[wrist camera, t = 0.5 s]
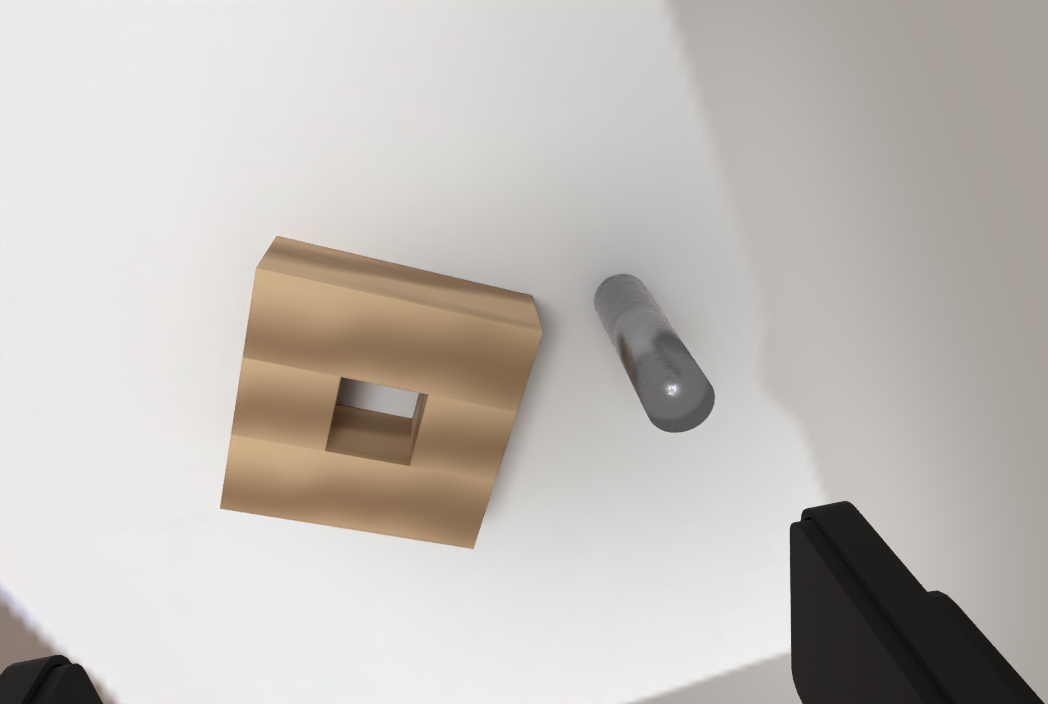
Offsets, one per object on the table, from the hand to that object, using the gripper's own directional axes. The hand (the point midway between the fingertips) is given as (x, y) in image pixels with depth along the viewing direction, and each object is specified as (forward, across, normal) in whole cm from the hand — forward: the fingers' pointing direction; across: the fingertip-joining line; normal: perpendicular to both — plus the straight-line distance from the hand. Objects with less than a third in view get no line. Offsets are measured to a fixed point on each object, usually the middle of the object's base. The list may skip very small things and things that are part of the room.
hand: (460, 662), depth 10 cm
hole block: (+33, +6, +11) cm, 35 cm away
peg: (+33, -9, +8) cm, 35 cm away
